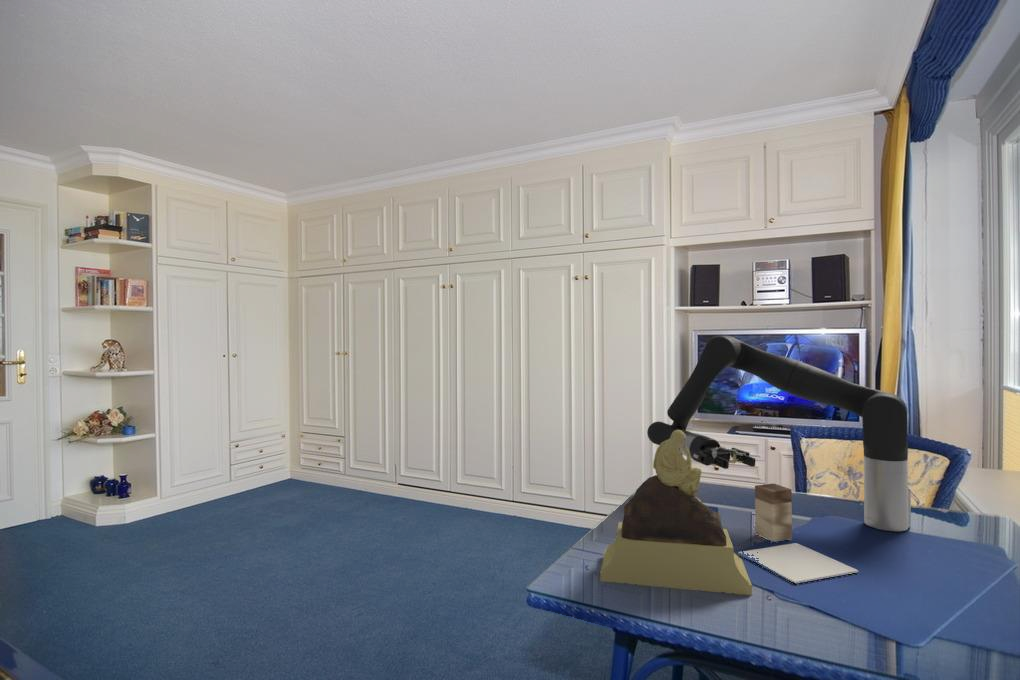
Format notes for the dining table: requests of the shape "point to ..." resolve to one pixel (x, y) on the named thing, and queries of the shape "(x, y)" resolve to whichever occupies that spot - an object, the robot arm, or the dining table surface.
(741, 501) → the dining table surface
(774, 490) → the two-tone block
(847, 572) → the off-white mat
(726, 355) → the robot arm
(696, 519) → the seated figure statue
